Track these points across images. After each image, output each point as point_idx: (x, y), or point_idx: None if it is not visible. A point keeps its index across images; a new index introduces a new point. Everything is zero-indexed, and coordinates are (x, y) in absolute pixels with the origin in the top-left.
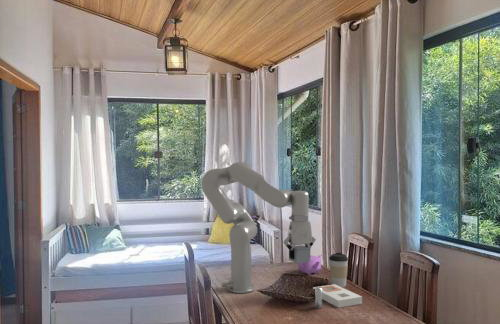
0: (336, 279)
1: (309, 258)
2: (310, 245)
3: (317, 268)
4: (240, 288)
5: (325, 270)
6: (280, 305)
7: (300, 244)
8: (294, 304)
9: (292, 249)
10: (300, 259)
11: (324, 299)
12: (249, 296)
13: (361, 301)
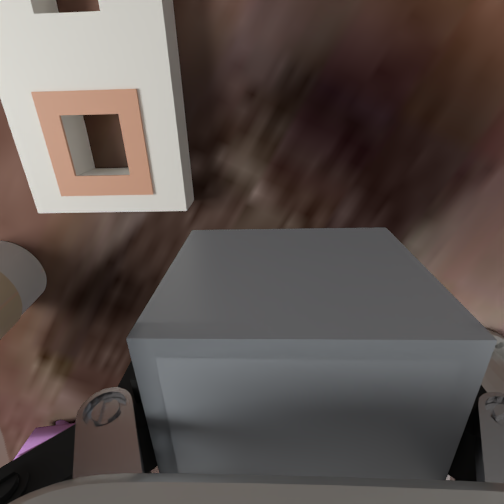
0: (4, 268)
1: (194, 246)
2: (61, 457)
3: (45, 439)
4: (497, 354)
5: (11, 438)
6: (455, 100)
7: (385, 479)
8: (377, 81)
9: (500, 408)
10: (339, 243)
11: (180, 75)
12: (488, 286)
13: None
